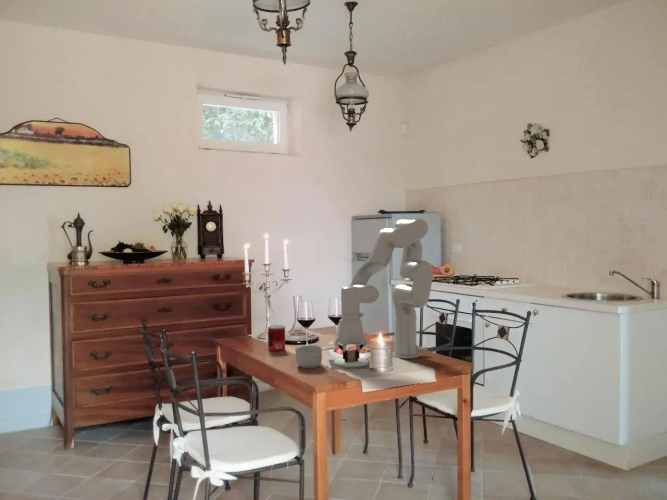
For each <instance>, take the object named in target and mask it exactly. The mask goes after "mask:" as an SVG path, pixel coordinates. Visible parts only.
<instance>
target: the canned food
mask: <svg viewBox="0 0 667 500" xmlns="http://www.w3.org/2000/svg"><path fill="white" fill-rule="evenodd" d="M267 345H268V348H267V349H268V351H269V352H273V353H274V352H278V353H279V352H283V351H285V349H286V326H285V325H282V324H272V325H268V326H267Z"/></svg>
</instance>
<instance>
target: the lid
mask: <svg viewBox="0 0 667 500" xmlns="http://www.w3.org/2000/svg"><path fill="white" fill-rule="evenodd" d="M346 352H347V361H346V362H345V360H344V359H343V357H340V358H339V357H338V358H336V360H335V359H334V360H335V361H334V364H335V365H336V366H339V367H345V368H356V367H363V366H366V365H368V360H369V359H368V360H367V358H364V357H359V359H358V361H356V349H353V348H349V349H346Z"/></svg>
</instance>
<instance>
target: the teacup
mask: <svg viewBox="0 0 667 500" xmlns="http://www.w3.org/2000/svg"><path fill="white" fill-rule="evenodd" d="M322 349H323V348H322V346H320V345H314V344H313V345H312V344H308V345H302V346H298V347H296V348H295V349H294V351H295V360H296V361H295V362H296V364H297V365H298V366H299V367H300V368H302V369H315V368H318V367H319V365H320V364H321V363H322V359H323V355H322V354H323V351H322Z"/></svg>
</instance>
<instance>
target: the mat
mask: <svg viewBox="0 0 667 500" xmlns="http://www.w3.org/2000/svg"><path fill="white" fill-rule="evenodd" d="M336 359H337V358H336ZM336 359H335V358H334V359H328V360H327V361H328V363H329V365H330V368H331V370H332V371H334V370H361V369H362V370H363V369H364V370H365V369H371V368H370V362H371V361H370V359H369V358H367V357H366V359H367V360H368V365H366V366H363V367H356V368H345V367H339V366H336V365H335V364H334V361H335V360H336Z"/></svg>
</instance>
